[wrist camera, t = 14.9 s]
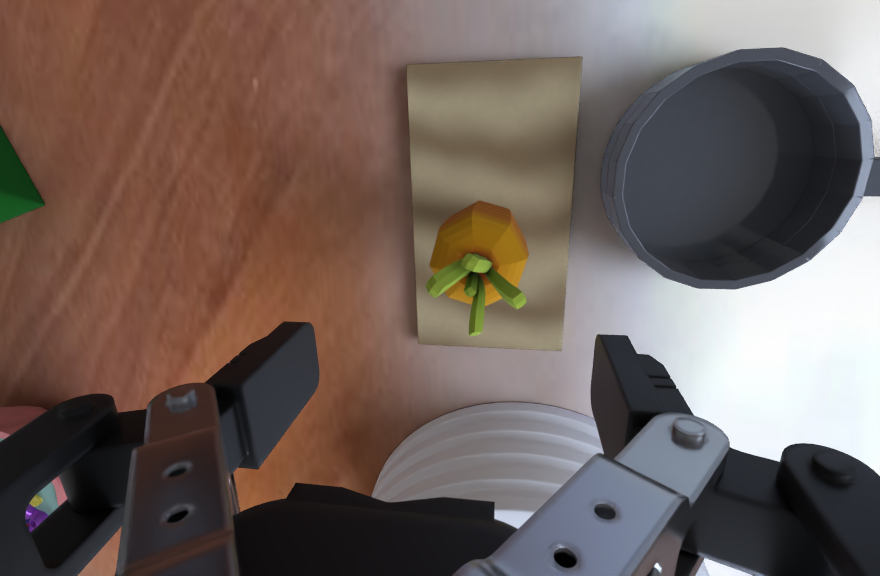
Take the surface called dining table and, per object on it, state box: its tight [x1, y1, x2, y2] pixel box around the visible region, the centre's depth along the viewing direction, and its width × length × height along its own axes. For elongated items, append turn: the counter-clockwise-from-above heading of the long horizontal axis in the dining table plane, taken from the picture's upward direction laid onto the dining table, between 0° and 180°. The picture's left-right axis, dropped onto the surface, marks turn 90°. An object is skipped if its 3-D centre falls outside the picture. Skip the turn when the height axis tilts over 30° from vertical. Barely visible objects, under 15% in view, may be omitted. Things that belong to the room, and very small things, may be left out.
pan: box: [601, 48, 874, 289], centre depth 28 cm, size 13×13×4 cm
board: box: [406, 57, 582, 351], centre depth 33 cm, size 20×11×1 cm, turn 1°
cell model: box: [0, 406, 67, 532], centre depth 43 cm, size 17×20×11 cm
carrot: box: [425, 200, 529, 336], centre depth 25 cm, size 5×5×15 cm
